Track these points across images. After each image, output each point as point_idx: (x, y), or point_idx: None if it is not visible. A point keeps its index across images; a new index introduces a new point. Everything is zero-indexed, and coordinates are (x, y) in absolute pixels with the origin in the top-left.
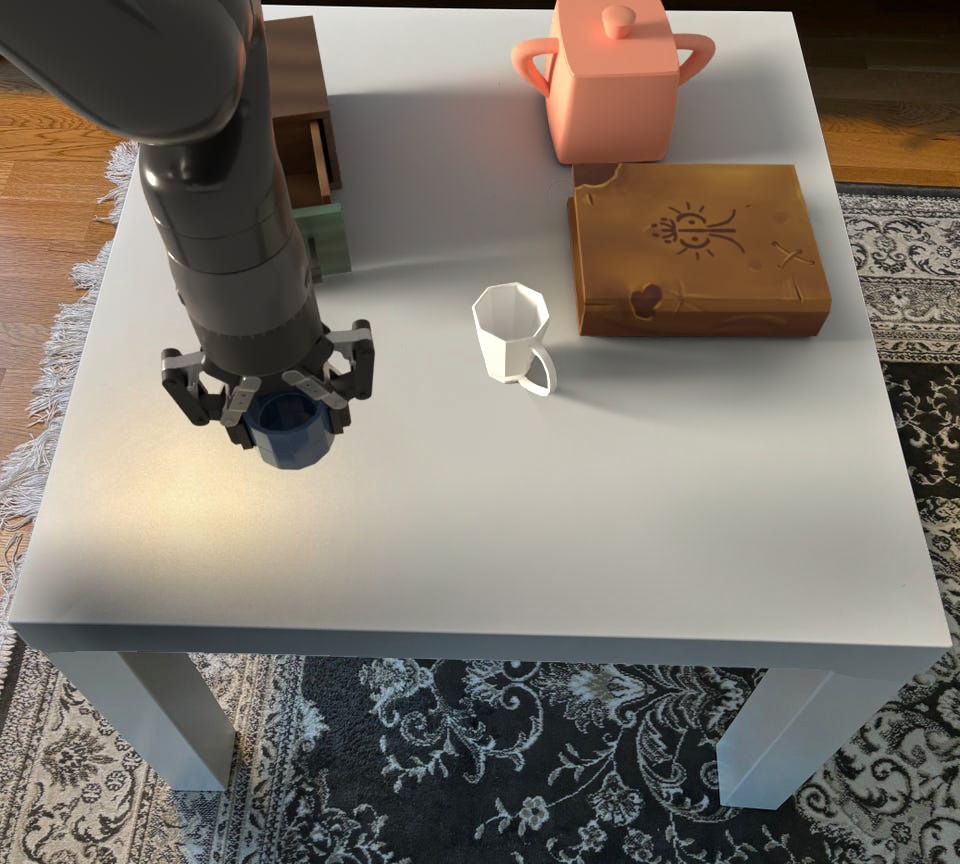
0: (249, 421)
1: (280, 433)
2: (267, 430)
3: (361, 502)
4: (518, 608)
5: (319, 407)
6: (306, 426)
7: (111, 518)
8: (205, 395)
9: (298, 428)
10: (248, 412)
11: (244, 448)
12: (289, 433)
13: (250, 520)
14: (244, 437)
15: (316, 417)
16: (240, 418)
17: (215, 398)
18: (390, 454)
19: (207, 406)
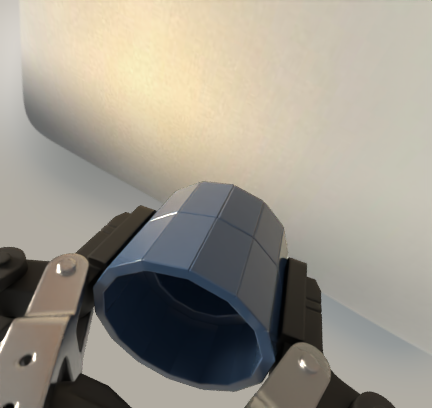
0: (109, 332)
1: (158, 370)
2: (138, 356)
3: (305, 166)
4: (372, 307)
5: (240, 384)
6: (203, 388)
7: (76, 66)
8: (6, 292)
9: (189, 383)
10: (119, 285)
11: None
12: (172, 378)
13: (196, 131)
14: None
15: (227, 389)
16: None
17: (30, 300)
18: (373, 126)
19: (17, 310)
